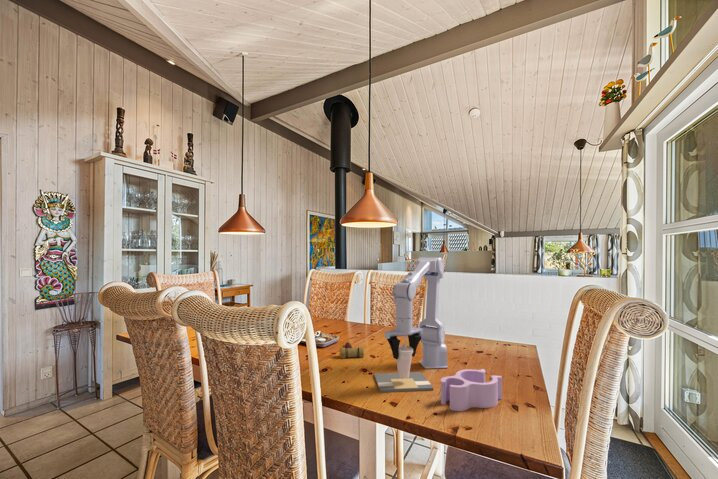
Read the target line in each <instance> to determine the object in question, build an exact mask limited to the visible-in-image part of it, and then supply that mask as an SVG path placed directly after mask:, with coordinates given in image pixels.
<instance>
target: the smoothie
mask: <svg viewBox="0 0 718 479" xmlns="http://www.w3.org/2000/svg"><path fill="white" fill-rule="evenodd" d="M407 339H408V336H404V344H403V345H400V344H399V357H398V359H395V360H396V367H397V368H396V369H397V373H398V377H400V378H403V379H406V378H408V377H409V373H410V370H411V365H412V359H413V358H412V357H413V356H412V353H413V348H412V347H410V346H409V345H407V342H408V341H407Z"/></svg>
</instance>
